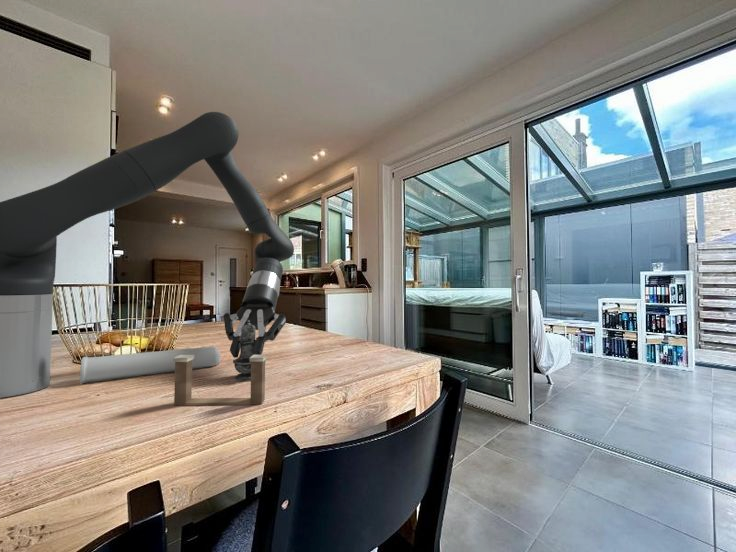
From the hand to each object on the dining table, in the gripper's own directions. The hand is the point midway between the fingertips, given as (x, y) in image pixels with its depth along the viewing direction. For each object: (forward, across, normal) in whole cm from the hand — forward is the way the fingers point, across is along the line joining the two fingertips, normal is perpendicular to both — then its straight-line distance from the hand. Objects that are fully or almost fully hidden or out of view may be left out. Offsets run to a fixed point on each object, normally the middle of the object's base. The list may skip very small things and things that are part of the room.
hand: (245, 355), depth 64 cm
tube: (-1, -20, +8) cm, 22 cm away
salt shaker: (+2, 0, +5) cm, 6 cm away
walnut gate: (+12, 0, -5) cm, 13 cm away
